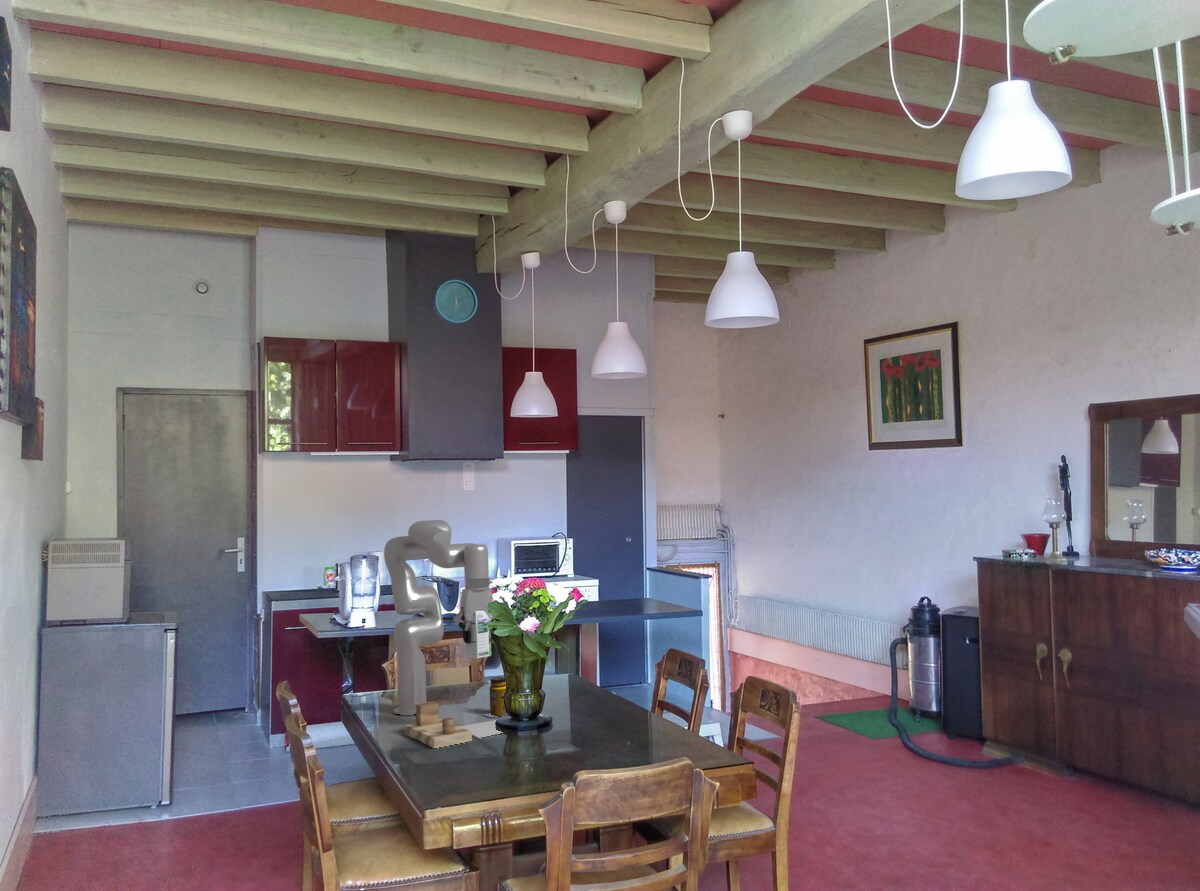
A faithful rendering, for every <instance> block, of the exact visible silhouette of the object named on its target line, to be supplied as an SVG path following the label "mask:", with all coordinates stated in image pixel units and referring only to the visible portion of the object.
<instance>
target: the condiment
mask: <svg viewBox="0 0 1200 891" xmlns="http://www.w3.org/2000/svg"><path fill="white" fill-rule="evenodd" d="M505 678H506V677H503V676H497V677H492V678H491V679H490V687H489V713H491V715H494V716H502V715H503V717H505V716H504V715H506V711H505V706H504V698H503V697H504V693H505V691H506V685H507V684H506V683H507V681H506V682H505ZM483 714H484V713H480V715H481V716H483Z"/></svg>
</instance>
